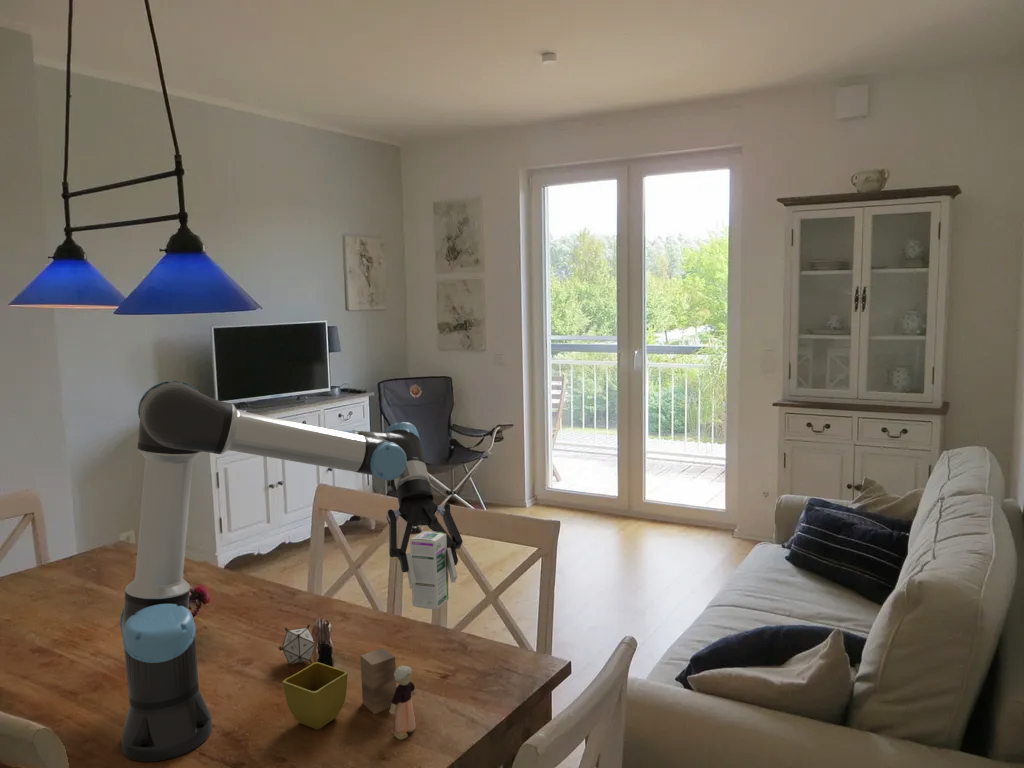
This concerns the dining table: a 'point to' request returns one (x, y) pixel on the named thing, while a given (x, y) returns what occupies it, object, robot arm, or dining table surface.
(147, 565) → the robot arm
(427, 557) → the syrup box
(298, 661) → the game die
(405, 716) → the grandmother figurine
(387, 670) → the walnut block
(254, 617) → the dining table surface
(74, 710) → the dining table surface
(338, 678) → the flower pot
